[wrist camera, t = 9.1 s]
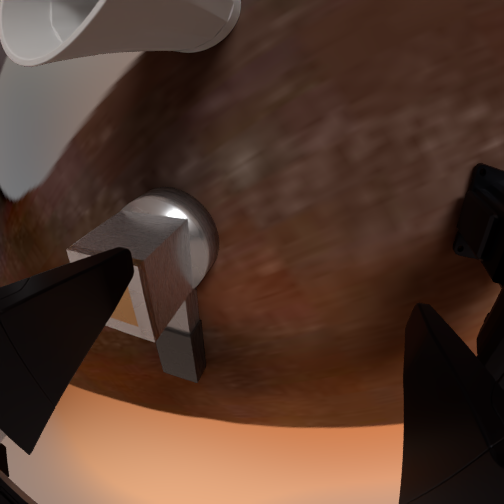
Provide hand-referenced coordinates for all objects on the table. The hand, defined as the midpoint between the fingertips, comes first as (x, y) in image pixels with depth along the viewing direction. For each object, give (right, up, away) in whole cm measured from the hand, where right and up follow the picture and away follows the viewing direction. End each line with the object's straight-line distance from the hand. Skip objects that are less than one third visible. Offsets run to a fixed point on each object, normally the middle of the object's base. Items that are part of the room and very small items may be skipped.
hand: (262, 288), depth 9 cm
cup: (-4, +17, +6) cm, 18 cm away
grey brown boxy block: (-7, +1, +13) cm, 15 cm away
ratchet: (-7, -3, +18) cm, 20 cm away
